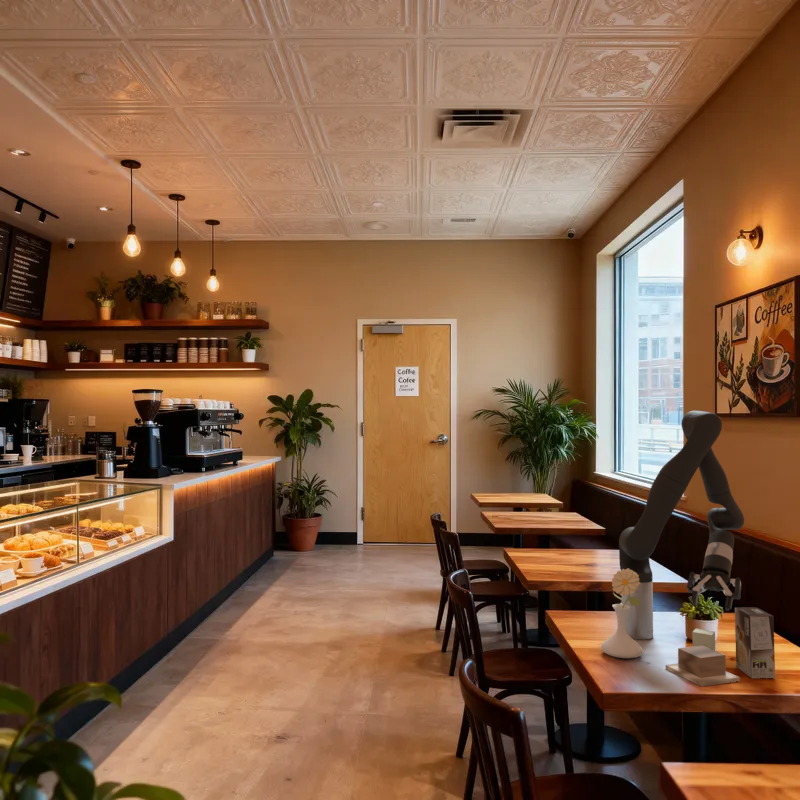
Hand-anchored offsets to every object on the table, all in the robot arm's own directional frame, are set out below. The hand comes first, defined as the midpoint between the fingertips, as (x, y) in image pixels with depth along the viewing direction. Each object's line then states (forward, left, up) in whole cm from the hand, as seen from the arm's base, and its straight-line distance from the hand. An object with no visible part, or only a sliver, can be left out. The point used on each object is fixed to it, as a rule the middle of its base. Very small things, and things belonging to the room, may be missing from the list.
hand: (710, 606), depth 192 cm
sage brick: (0, -9, -13) cm, 16 cm away
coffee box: (+13, -10, -13) cm, 21 cm away
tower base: (+2, -21, -13) cm, 25 cm away
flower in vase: (-19, -19, -13) cm, 30 cm away
